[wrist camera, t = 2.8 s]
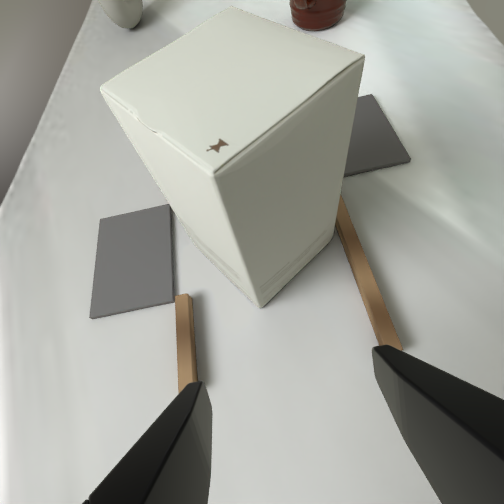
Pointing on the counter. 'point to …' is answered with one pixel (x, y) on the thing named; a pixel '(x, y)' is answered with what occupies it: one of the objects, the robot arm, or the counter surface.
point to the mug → (316, 13)
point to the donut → (123, 11)
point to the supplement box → (245, 141)
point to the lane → (363, 279)
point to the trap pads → (160, 229)
